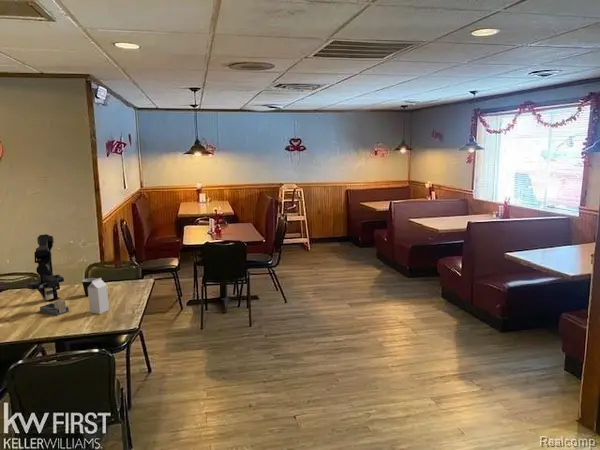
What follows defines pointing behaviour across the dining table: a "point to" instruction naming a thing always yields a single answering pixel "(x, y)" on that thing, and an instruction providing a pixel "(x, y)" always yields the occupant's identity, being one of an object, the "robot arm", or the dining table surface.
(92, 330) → the dining table surface
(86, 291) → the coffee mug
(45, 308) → the rail
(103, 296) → the milk carton
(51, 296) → the block
